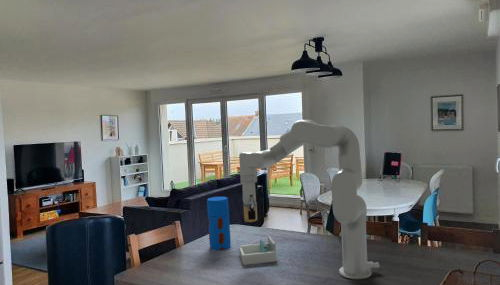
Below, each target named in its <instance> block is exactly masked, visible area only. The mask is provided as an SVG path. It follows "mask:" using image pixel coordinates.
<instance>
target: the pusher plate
mask: <svg viewBox="0 0 500 285" xmlns="http://www.w3.org/2000/svg"><path fill="white" fill-rule="evenodd" d="M265 243H266V242H265V241H264V239H259V244H260V250H261V253H263V252H267V246H266V244H265Z"/></svg>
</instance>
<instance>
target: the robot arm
mask: <svg viewBox="0 0 500 285" xmlns="http://www.w3.org/2000/svg"><path fill="white" fill-rule="evenodd" d="M305 144H308V145H311V146H317V147H320V148H325V149H330V148H336V147H337V148H338V153H337V154H338V156H337V157H338V158H337V160H338V171H337V172H336V173H334V175H333V177H332V178H331V186H330V187H331V189H330V190H331V202H332V203H331V204H332V212H333V216H334V218H335V220H336V221H337V222H338V223H340V224H341V226H340V227H341V228H340V230H341V251H342V255H341V256H342V266H341V267H340V268H339V271H338V272H339V274H340V276H342V277H343V278H347V279H351V280H365V279H368V278H370V277H371V276H372V274H373V272H372V271H373V270H372V269H375V268H376V269H378V268H380V263H379V262H374V261H373V260H371V261H368V249H367V248H368V247H367V246H368V243H367V213H368V212H367V204H366V201H365V200H364V198H363V197H362V196H361V195H359V194H358V190H359V189H360V188H361V187H362V186H363V174H362V163H361V162H362V161H361V150H360V149H361V148H360V142H359V139H358V136H357V135H356V134H355V133H354V131H352V130H351V129H350V128H348V127H347V126H344V125H340V124H331V125H325V124H319V123H317V122H316V121H314V120H313V119H300V120H297V121H295V122H294V123H293V124H292V126H291V128H290V129H289V130H288V131H286V132H284V133H282V134H281V135H280V136H279V141H278V142H277V143H276V144H275V145H273V146H271V147H270V148H268V149H265V150H261V151H260V150H259V151H255V152H254V151H241V152H240V153H239V155H238V156H239V157H238V158H239V160H238V161H239V175H240V184H241V183H242V202H243V203H244V204H245V205H247V204H248V209H249V211H248V219H249V220H253V219H256V216H255V206H254V204H255V203H256V202H257V196H256V195H257V194H256V183H257V182H258V175H257V170H258V169H261V170H262V169H265V168H268V167H273V166H274V165H276V164H277V163H279V162H281V161H282V160H284V159H285V158H287V157H288V156H289V155H291V154H292V153H293V152H294V151H296V150H298V149H299V148H301V147H304V146H305ZM249 203H251V204H249ZM250 205H251V206H250Z"/></svg>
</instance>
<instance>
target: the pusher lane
mask: <svg viewBox="0 0 500 285" xmlns="http://www.w3.org/2000/svg"><path fill="white" fill-rule="evenodd" d="M264 243H265V244H266V246H267V252H263V253H261V250H260V243H256V244H255V243H253V244H244V245H238V248H239V249H238V250H239V253H238V255H239V257H240V260H241V262H242V265H243V266H247V265H255V264H256V265H257V264H263V263H272V262H277V250H276V249H277V248H276V242H275V241H274V240H273V238H272V237H271V236H270V235H268V236H267V242H264Z"/></svg>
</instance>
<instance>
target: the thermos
mask: <svg viewBox="0 0 500 285" xmlns="http://www.w3.org/2000/svg"><path fill="white" fill-rule="evenodd" d="M206 205H207V206H206V208H207V221H208V223H207V226H208V237H209V238H208V239H209V240H208V241H209V249H210V250H212V251H224V250H228V249H230V248H231V226H230V225H231V224H230V211H229V210H230V209H229V198H228V196H227V197H226V196H213V197H209V198H207V200H206Z"/></svg>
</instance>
